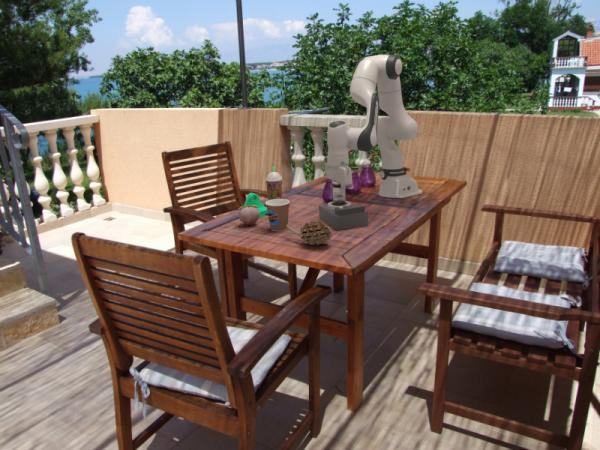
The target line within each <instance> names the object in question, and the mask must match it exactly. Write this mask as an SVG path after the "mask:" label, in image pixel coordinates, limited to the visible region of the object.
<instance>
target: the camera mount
mask: <svg viewBox="0 0 600 450" xmlns="http://www.w3.org/2000/svg"><path fill="white" fill-rule="evenodd" d="M247 203H248V205H257V206H258V207H259V208H258V207H256V208H257V209H258V211H259V218H262V217H266V216H267V214H268V212H267V207H266V206H265V205H264V204H263V202H262V201H261V200H260V196H259V195H258V194H257V193H254V192H249V194H247V196H246V199H245V202H244V204H243V206H247Z"/></svg>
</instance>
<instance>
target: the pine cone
mask: <svg viewBox="0 0 600 450" xmlns="http://www.w3.org/2000/svg"><path fill="white" fill-rule="evenodd" d="M329 226H330V225H328V226H327V225H326V224H325V222H324V221H323V222H322V220H320V219H316V220H312V221H310V222H305V223H304V224H303V226H301V227H300V230H299V231H297V230H296V229H293V228H292V227H291V226H290V225H289V224H288V225H287V226H286V227H287V229H286V230H288V231H289V232H291V233H292V234H294V235H296V236H300V239H301V240H302V241H303V243H304V244H306V245H307V244H308V245H313V246H315V244H316V245H317V246H319V245H321V244H324V245H325V244H327V243H328V241H330V240H331V239H332V238H333V231H332V230H331V229H330V227H329Z"/></svg>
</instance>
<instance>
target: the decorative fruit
mask: <svg viewBox="0 0 600 450" xmlns="http://www.w3.org/2000/svg"><path fill="white" fill-rule="evenodd" d="M256 207H258V206H257V205H248V203H247V206H244V205H241V206H239V207H238V209H237V211H238V218H239V221H240V222H241V223H243V224H244V225H248V226H251V225H253V224H255V223H256V221H257V222H258V220H259V218H260V217H259V211H258V209H257V208H256ZM258 208H259V207H258Z"/></svg>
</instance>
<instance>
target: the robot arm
mask: <svg viewBox="0 0 600 450" xmlns="http://www.w3.org/2000/svg"><path fill="white" fill-rule="evenodd" d="M402 72H403V60H402V59H401V57H399V55H397V54H377V55H371V56H370V55H369V56H366V55H365V56H363V57H361V58H359V59H358V60H357V62H356V64H355V70H354V73H353V76H352V79H351V82H350V85H349V94H350V97H351V98H352V100H353V101H355V102H356V103H358V104H359V105H360V106H363V107H365V108H366V116H365V117H366V119H365V125H364V126H363V127H353V126H349V125H347V122H346V121H343V120H337V121H332V122H330V123H329V124H328V126H327V131H326V132H327V133H326V134H327V135H326V139H327V140H326V141H327V147H328V149H327V156H325V157H324V158H323V161H324V162H323V163H325V165H324V167H325V168H324V170H325V176H326V178H327V179H329V180H331V184H332V183H333V182H332V181H333V180H334V181H336V182H338V183H340V186H341V189H340V193H341V194H344V193H345V194H346V187H347V186H351V185H352V184H353V174H352V169H351V167H350V166H349V164H350V163H349V160H350V159H349V150H350V151H360V152H366V153H369V152H370V151H372V150H373V149H375V147H376V146H377V145H378V148H379V151H380V156H381V167H380V186H379V190H378V195H379V196H380V197H383V198H393V199H394V198H396V199H404V198H409V197H413V196H417V195H422V194H423V190H422V189H420V188H419V184H418V182H417V180H416V179H415V178H413V177H412V176H410V175H409V174H408V173H410V172H411V168H410V167H406V166H404V165H405V163H404V162H405V158H404V157H405V154H404V151H403V149H402V148H400V147H399V146H398V145H397V143H396V142H395V141H404V142H405V141H410V140H413V139H415V138H416V137H417V134H418V131H419V125H418V123H417V121H416V120H415V119H413V118H412V117H411V116H410V115H409V114H408V112H407V111H406V108H405V106H404V102H403V96H402V85H401V84H402V83H401V79H400V76H401V74H402ZM376 87H377V88H376ZM376 89H377V92H376ZM380 110H381V111H383V112H385V113H386V114H387V115H388V116H386V117H384V116H382V117H379V112H380Z"/></svg>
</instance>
